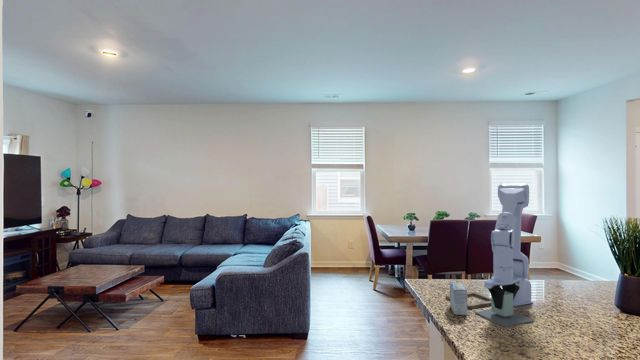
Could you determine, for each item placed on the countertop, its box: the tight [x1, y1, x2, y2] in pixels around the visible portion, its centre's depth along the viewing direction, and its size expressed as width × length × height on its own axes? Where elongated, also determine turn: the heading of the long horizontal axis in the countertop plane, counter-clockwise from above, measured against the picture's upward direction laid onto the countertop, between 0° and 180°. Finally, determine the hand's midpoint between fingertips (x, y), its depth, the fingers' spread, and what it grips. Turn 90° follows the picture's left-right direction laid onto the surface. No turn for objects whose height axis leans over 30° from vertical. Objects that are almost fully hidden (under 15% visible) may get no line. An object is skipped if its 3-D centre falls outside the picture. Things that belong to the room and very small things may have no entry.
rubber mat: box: [474, 308, 534, 328], centre depth 114 cm, size 12×12×1 cm
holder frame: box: [445, 291, 491, 310], centre depth 129 cm, size 14×12×1 cm
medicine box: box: [449, 282, 469, 316], centre depth 120 cm, size 8×4×9 cm, turn 168°
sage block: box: [490, 291, 514, 317], centre depth 114 cm, size 4×5×7 cm
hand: (503, 307), depth 114 cm, fingers closed on sage block, 4 cm apart
